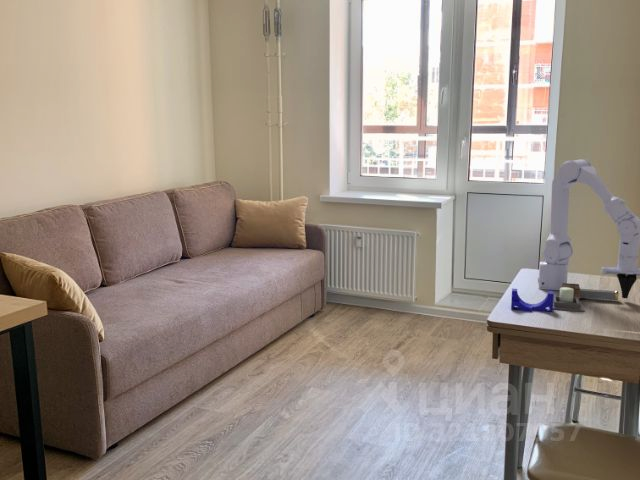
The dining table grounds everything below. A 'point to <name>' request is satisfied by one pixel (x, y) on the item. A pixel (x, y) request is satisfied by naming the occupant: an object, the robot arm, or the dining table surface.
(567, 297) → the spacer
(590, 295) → the shaft
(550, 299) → the blue semicircular bracket
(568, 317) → the dining table surface
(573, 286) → the brown wooden block
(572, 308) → the cradle
